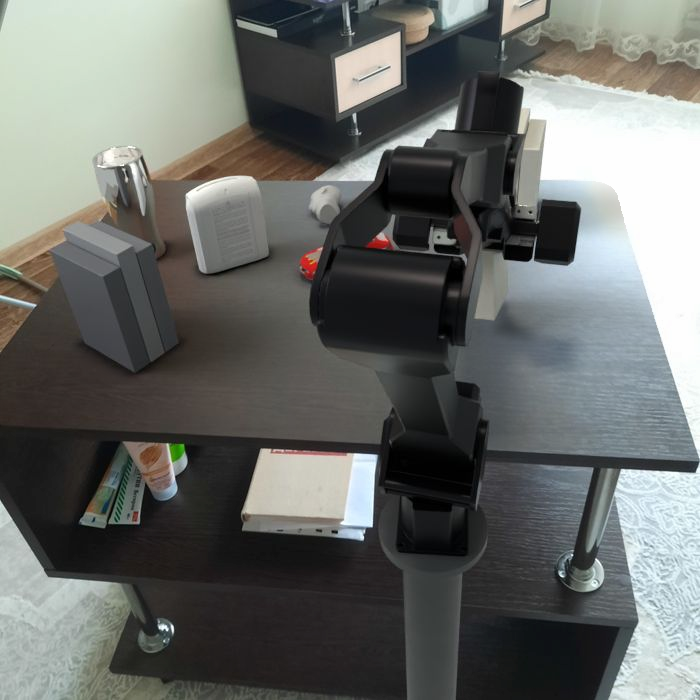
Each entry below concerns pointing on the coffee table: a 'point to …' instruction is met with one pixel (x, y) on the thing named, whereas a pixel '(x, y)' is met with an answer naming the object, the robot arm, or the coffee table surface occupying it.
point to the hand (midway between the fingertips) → (489, 245)
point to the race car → (312, 257)
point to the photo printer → (227, 223)
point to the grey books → (115, 293)
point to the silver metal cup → (129, 193)
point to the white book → (492, 285)
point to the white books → (530, 159)
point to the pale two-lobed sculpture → (326, 203)
